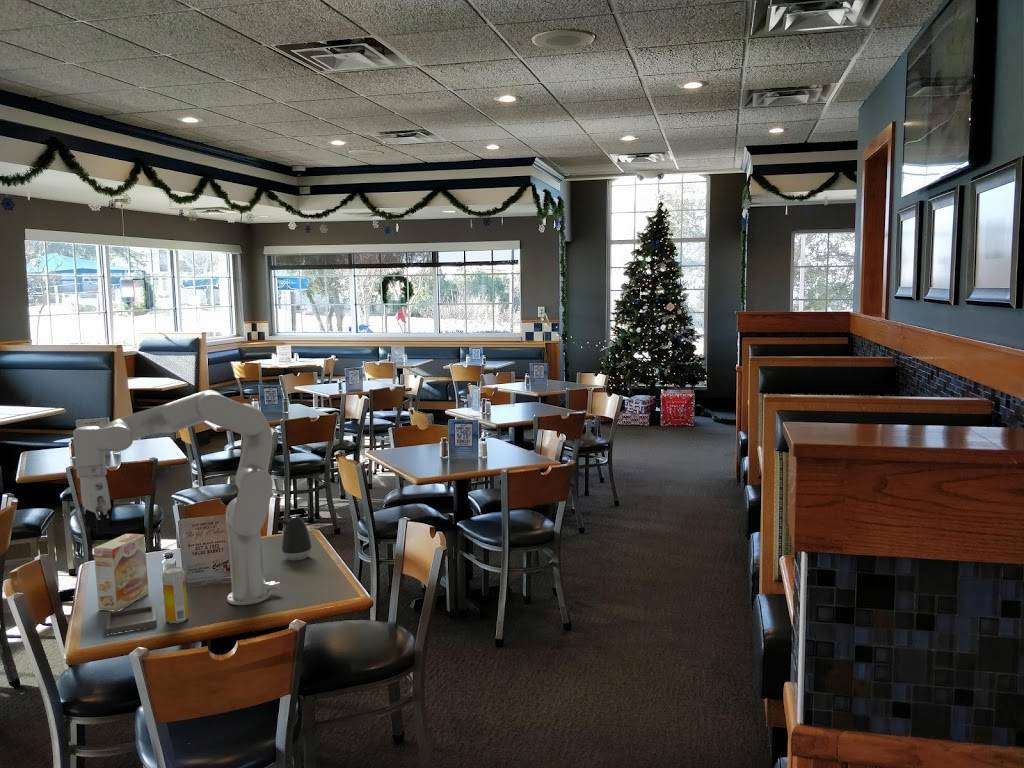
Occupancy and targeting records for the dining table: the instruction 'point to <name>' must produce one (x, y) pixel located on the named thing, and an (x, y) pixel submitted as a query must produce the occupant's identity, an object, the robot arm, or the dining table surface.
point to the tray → (131, 619)
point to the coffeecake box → (121, 571)
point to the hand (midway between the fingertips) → (97, 529)
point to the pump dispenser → (295, 539)
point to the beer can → (175, 595)
